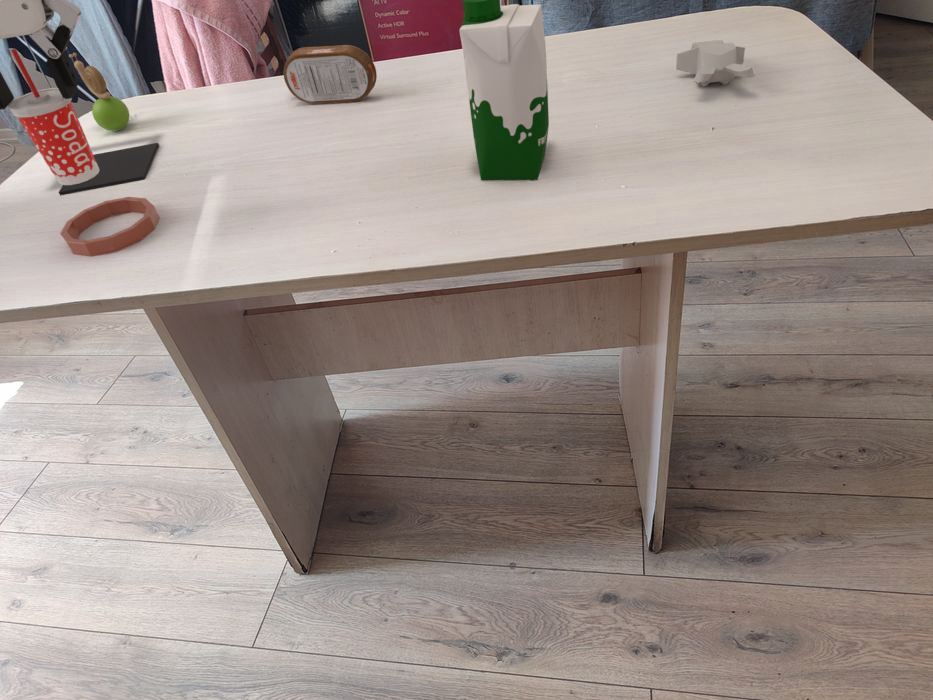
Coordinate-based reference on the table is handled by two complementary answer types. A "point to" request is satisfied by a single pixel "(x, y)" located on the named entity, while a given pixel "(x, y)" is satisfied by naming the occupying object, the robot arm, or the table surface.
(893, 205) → the table surface
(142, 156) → the mat
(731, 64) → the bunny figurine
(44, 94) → the beverage cup
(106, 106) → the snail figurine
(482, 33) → the milk carton
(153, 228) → the reddish brown ring
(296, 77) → the tin
